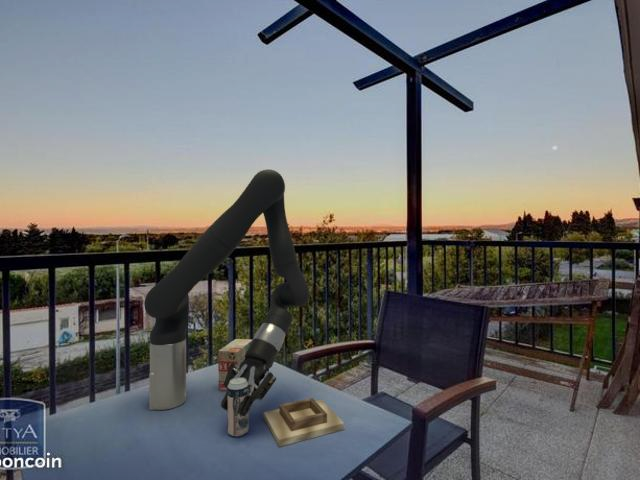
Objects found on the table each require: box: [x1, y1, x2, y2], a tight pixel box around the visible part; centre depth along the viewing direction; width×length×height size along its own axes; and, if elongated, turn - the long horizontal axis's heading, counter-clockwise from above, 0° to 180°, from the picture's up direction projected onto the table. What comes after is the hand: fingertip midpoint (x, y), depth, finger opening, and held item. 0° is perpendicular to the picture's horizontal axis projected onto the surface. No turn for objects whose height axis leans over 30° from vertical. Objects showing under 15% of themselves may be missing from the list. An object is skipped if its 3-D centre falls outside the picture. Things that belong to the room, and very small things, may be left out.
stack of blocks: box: [217, 338, 253, 392], centre depth 110 cm, size 21×6×12 cm, turn 169°
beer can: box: [227, 377, 250, 437], centre depth 78 cm, size 5×5×12 cm
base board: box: [263, 397, 345, 447], centre depth 82 cm, size 16×13×4 cm
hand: (232, 411), depth 77 cm, fingers closed on beer can, 4 cm apart
